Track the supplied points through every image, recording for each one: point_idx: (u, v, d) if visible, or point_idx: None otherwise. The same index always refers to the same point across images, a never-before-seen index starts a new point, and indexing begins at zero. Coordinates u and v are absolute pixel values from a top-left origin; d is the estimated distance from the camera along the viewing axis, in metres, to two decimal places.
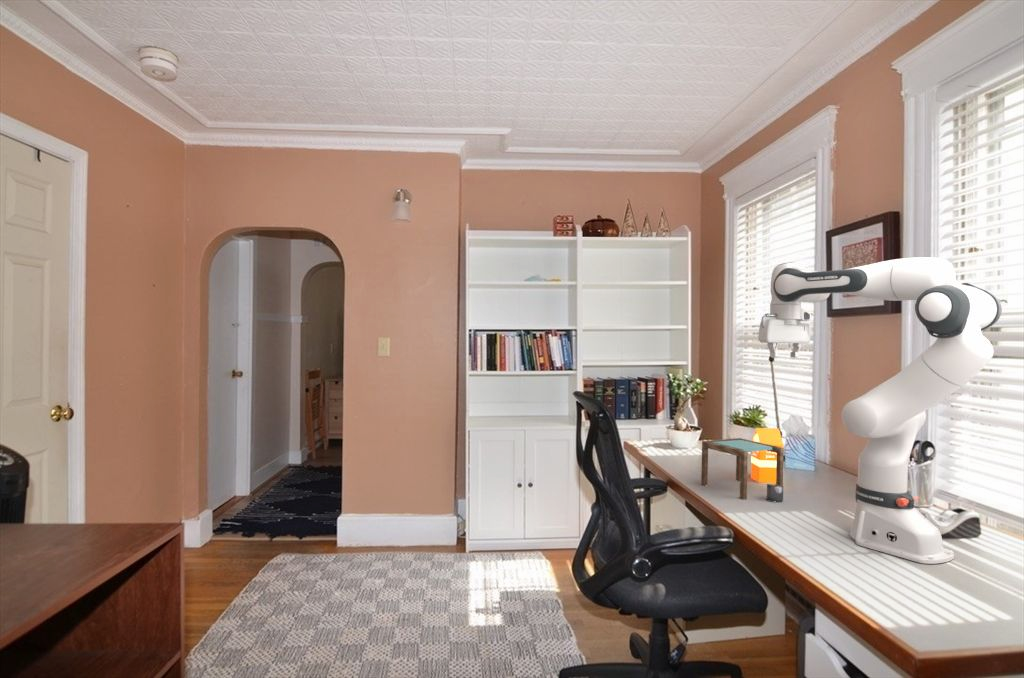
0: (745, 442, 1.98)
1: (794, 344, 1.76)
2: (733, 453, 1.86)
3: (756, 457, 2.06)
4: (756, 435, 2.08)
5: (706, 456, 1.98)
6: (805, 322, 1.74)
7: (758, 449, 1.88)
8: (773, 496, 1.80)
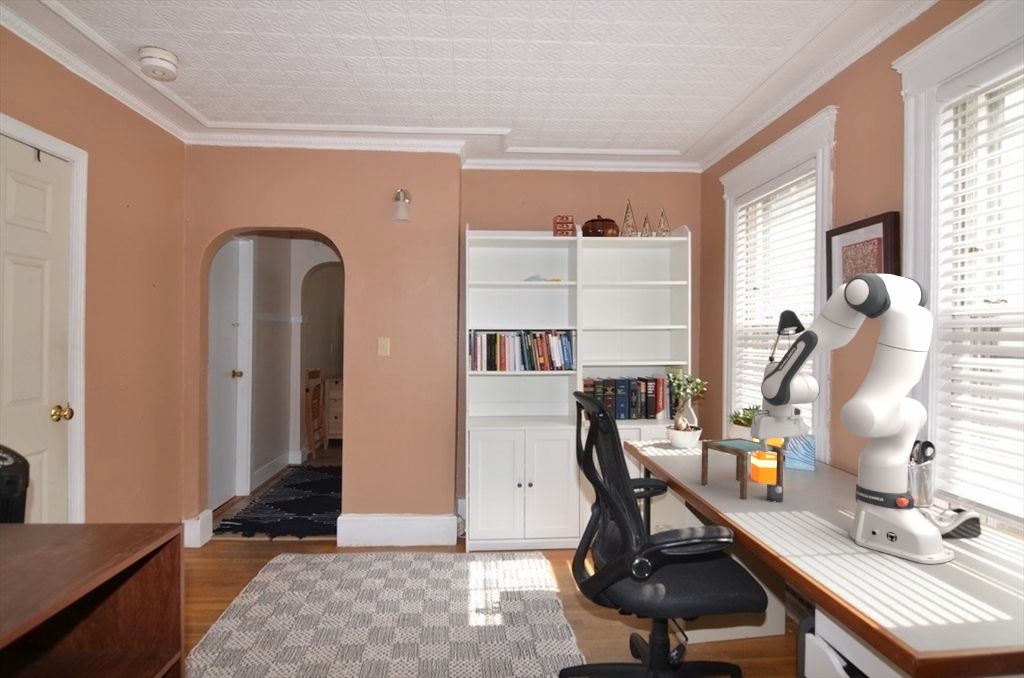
0: (745, 442, 1.98)
1: (785, 437, 1.85)
2: (733, 453, 1.86)
3: (756, 457, 2.06)
4: None
5: (706, 456, 1.98)
6: (795, 417, 1.82)
7: (758, 449, 1.88)
8: (773, 496, 1.80)
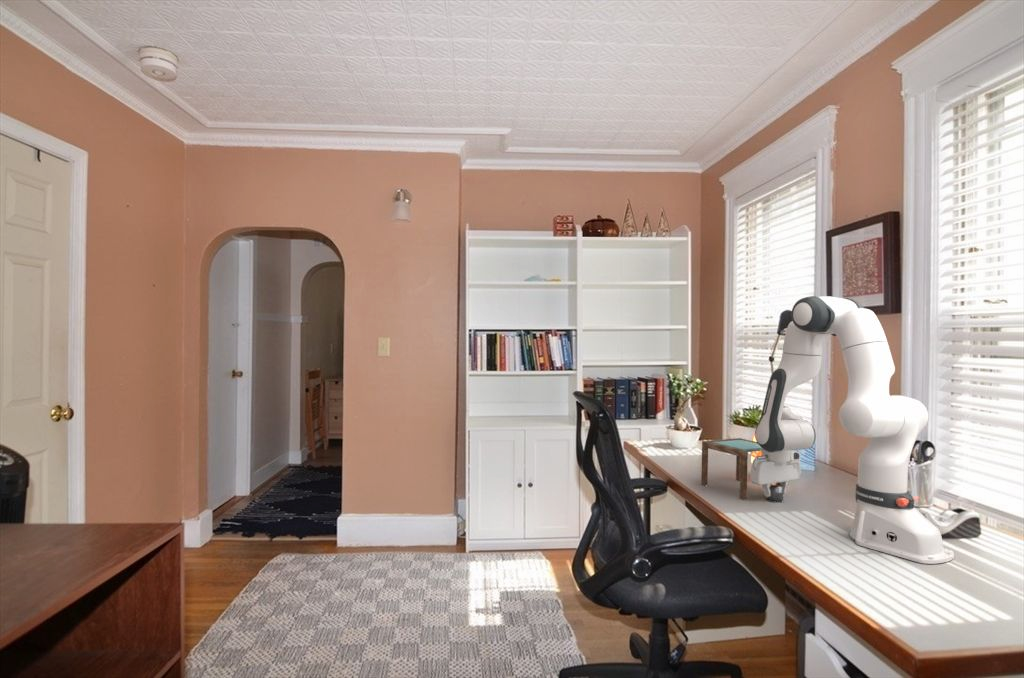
0: (745, 442, 1.98)
1: None
2: (733, 453, 1.86)
3: None
4: None
5: (706, 456, 1.98)
6: (795, 461, 1.82)
7: (758, 449, 1.88)
8: (773, 496, 1.80)
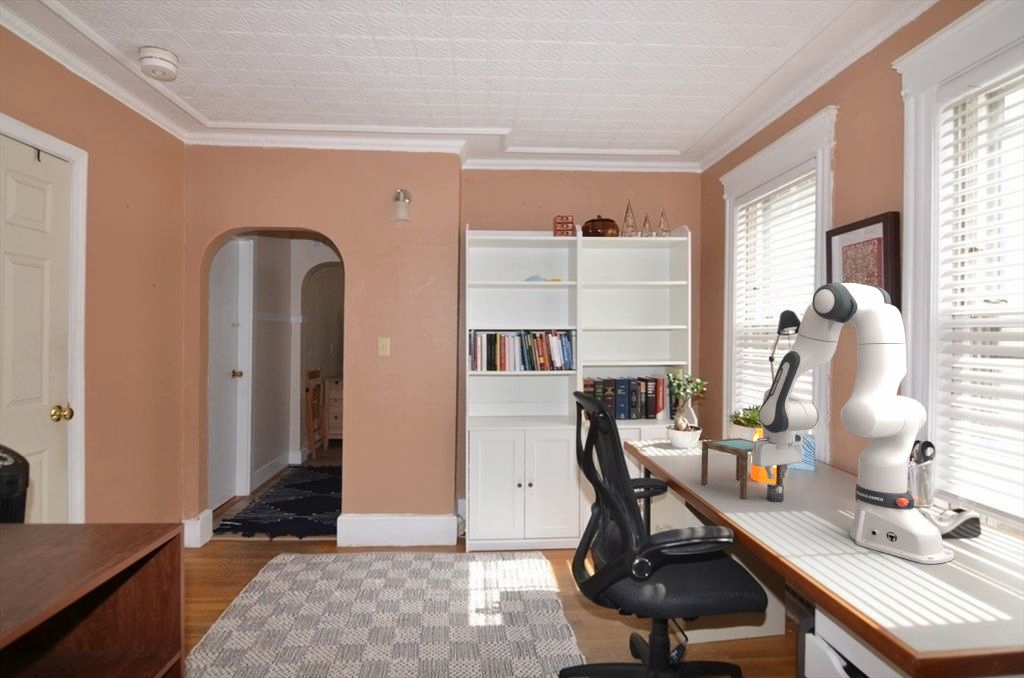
0: (745, 442, 1.98)
1: None
2: (733, 453, 1.86)
3: None
4: (756, 435, 2.08)
5: (706, 456, 1.98)
6: (796, 443, 1.82)
7: None
8: (774, 496, 1.80)
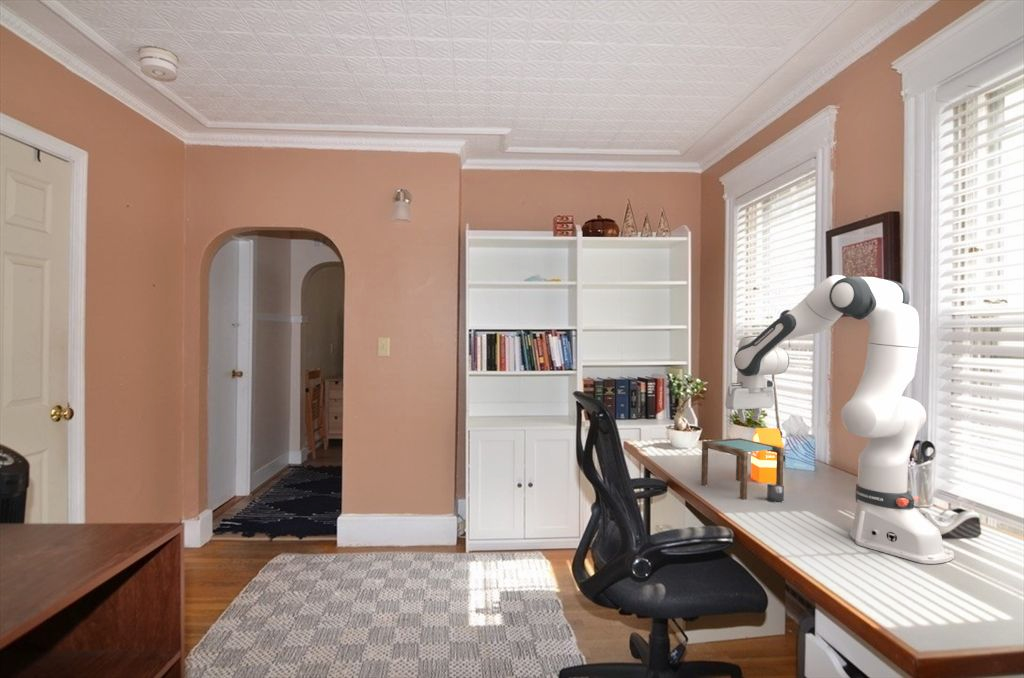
0: (745, 442, 1.98)
1: (755, 408, 1.94)
2: (733, 453, 1.86)
3: (756, 457, 2.06)
4: (756, 435, 2.08)
5: (706, 456, 1.98)
6: (768, 389, 1.92)
7: (758, 449, 1.88)
8: (774, 496, 1.80)
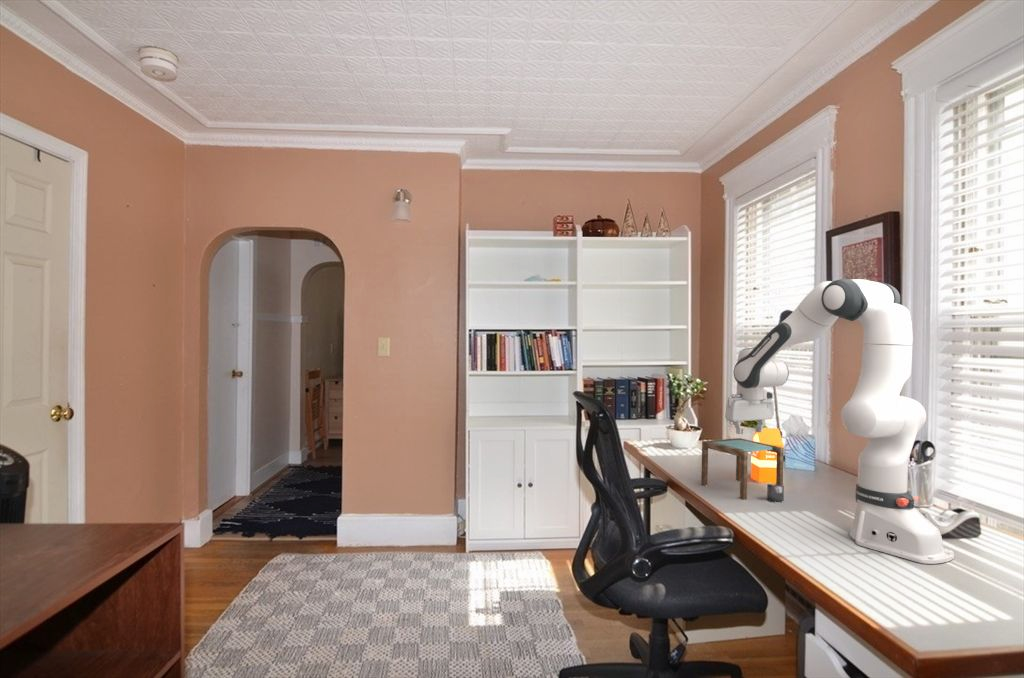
0: (745, 442, 1.98)
1: (758, 420, 1.94)
2: (733, 453, 1.86)
3: (756, 457, 2.06)
4: (756, 435, 2.08)
5: (706, 456, 1.98)
6: (768, 401, 1.92)
7: (758, 449, 1.88)
8: (774, 496, 1.80)
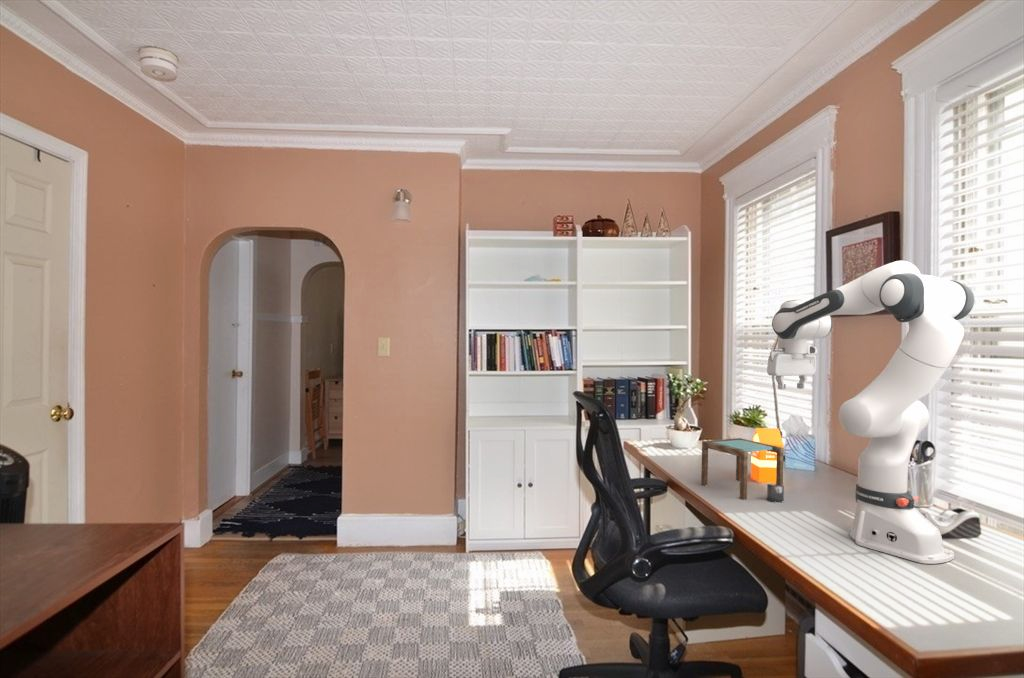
0: (745, 442, 1.98)
1: (800, 376, 1.87)
2: (733, 453, 1.86)
3: (756, 457, 2.06)
4: (756, 435, 2.08)
5: (706, 456, 1.98)
6: (811, 355, 1.85)
7: (758, 449, 1.88)
8: (774, 496, 1.80)
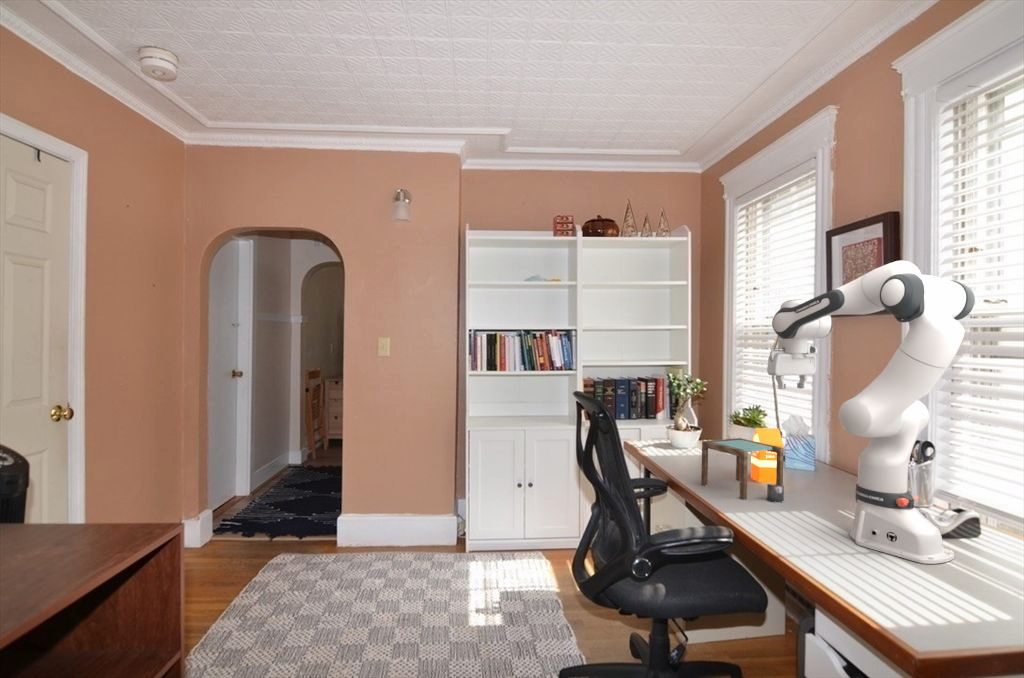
0: (745, 442, 1.98)
1: (800, 376, 1.87)
2: (733, 453, 1.86)
3: (756, 457, 2.06)
4: (756, 435, 2.08)
5: (706, 456, 1.98)
6: (811, 355, 1.85)
7: (758, 449, 1.88)
8: (774, 496, 1.80)
